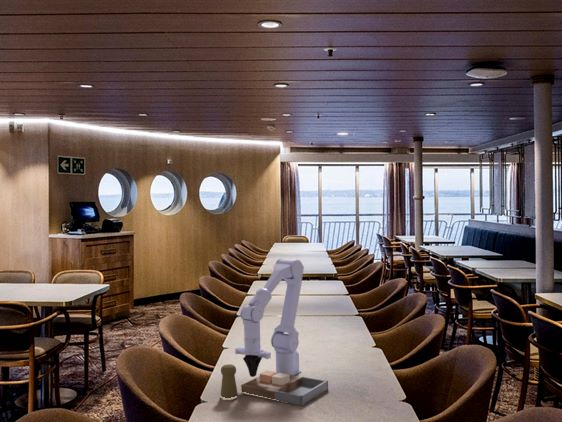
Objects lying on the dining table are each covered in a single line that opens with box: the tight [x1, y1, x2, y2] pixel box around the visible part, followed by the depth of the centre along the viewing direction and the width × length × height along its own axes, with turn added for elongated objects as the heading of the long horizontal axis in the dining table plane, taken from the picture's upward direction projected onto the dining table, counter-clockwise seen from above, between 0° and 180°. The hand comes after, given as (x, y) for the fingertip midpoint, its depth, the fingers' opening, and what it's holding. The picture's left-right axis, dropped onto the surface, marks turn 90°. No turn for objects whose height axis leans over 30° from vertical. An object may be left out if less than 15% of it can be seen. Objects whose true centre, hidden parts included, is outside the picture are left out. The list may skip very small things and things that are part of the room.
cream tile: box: [272, 373, 290, 385], centre depth 194 cm, size 4×4×2 cm
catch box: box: [275, 376, 329, 407], centre depth 189 cm, size 18×10×3 cm, turn 147°
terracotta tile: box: [259, 370, 277, 383], centre depth 197 cm, size 4×4×2 cm
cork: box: [220, 363, 239, 398], centre depth 189 cm, size 6×6×11 cm
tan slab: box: [240, 375, 302, 399], centre depth 196 cm, size 18×14×3 cm
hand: (253, 375), depth 201 cm, fingers closed
